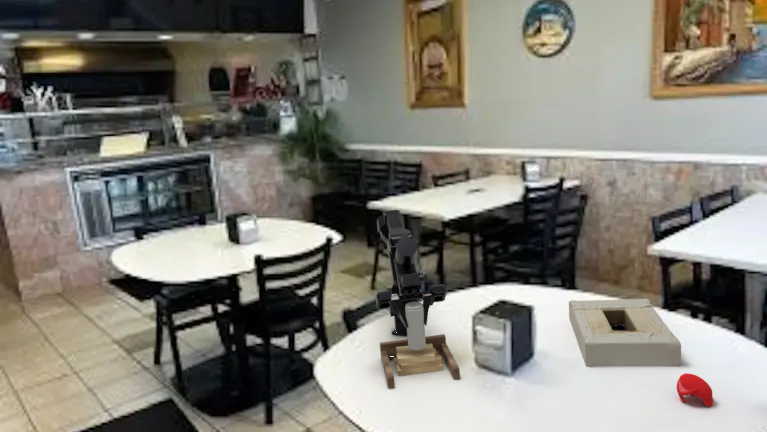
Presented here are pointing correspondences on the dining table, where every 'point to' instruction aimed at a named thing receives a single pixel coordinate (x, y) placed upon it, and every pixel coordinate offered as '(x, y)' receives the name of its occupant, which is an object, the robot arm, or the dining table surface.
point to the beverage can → (415, 325)
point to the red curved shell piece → (694, 388)
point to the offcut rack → (390, 346)
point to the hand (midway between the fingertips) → (416, 326)
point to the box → (623, 334)
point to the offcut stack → (417, 360)
